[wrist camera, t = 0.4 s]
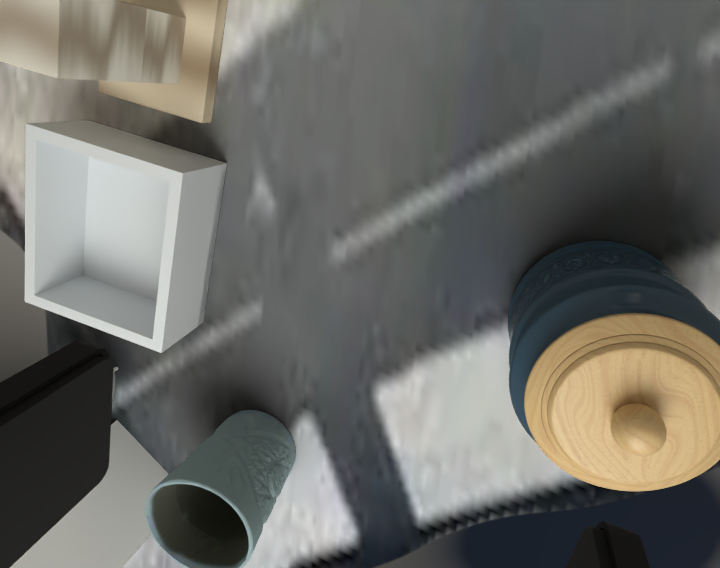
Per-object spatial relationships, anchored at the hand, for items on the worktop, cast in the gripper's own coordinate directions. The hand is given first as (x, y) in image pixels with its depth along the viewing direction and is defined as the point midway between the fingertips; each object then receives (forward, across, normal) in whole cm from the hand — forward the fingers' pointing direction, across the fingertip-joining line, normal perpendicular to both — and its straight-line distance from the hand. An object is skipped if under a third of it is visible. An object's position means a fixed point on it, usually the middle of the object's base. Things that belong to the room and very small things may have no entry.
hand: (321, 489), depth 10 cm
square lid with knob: (+35, +27, -6) cm, 45 cm away
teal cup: (+36, +13, +31) cm, 49 cm away
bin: (+35, +27, +10) cm, 46 cm away
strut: (+34, +27, -6) cm, 44 cm away
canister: (+36, -13, +7) cm, 38 cm away
